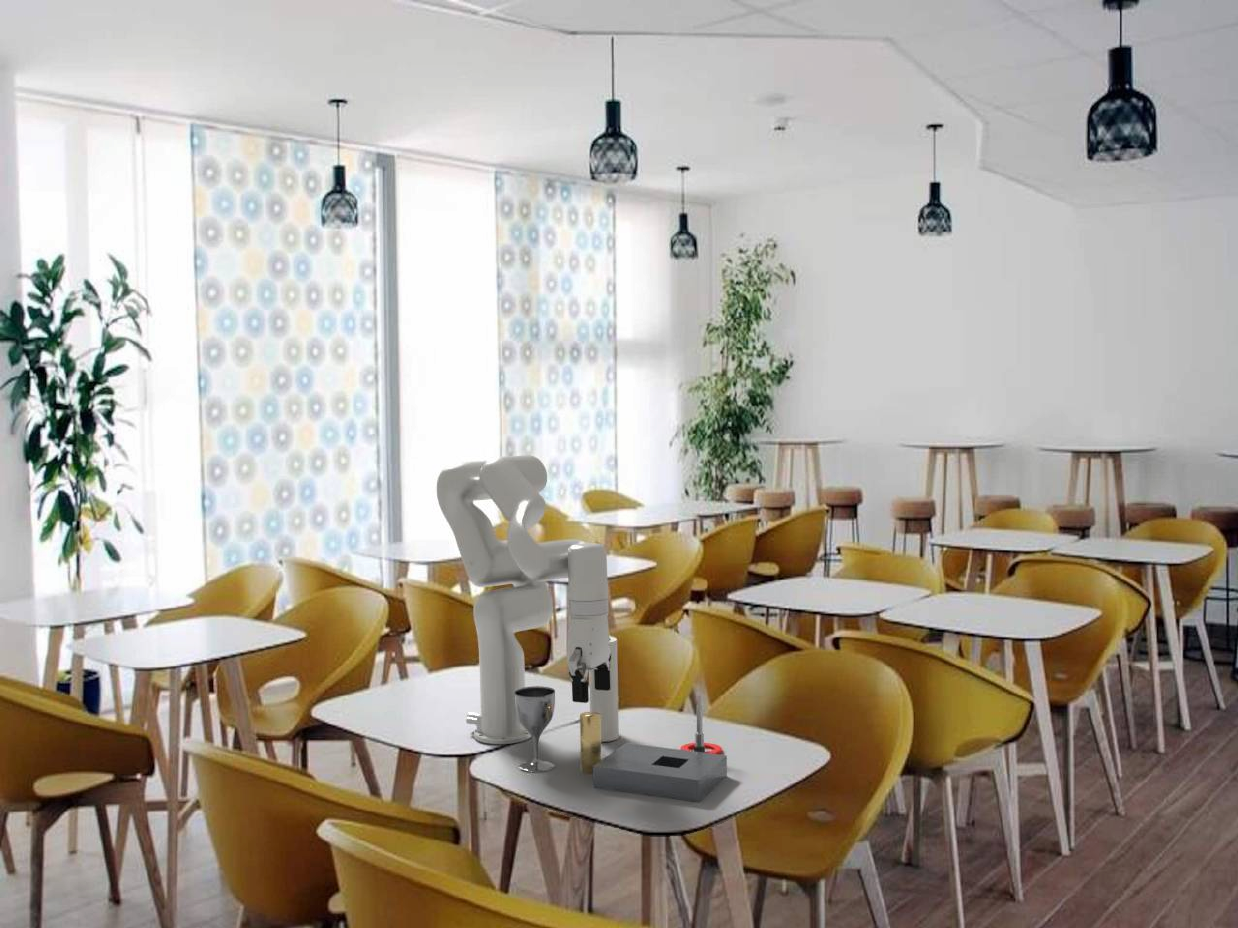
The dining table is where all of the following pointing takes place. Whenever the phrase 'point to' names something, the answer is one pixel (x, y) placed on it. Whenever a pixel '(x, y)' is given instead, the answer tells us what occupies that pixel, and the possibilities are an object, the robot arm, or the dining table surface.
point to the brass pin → (590, 740)
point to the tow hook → (701, 735)
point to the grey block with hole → (660, 772)
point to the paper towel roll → (607, 699)
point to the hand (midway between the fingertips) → (591, 695)
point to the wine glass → (535, 719)
